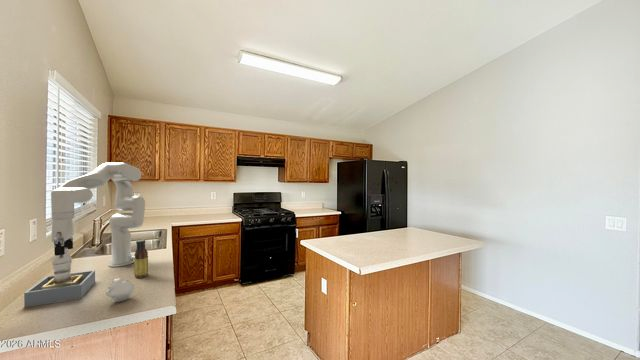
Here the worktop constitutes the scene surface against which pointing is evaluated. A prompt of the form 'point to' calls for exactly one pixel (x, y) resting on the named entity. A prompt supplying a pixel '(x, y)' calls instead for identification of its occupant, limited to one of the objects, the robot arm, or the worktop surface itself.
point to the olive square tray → (75, 281)
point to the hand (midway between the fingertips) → (64, 252)
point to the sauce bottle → (141, 260)
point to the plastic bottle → (62, 268)
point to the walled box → (58, 290)
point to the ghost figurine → (120, 290)
